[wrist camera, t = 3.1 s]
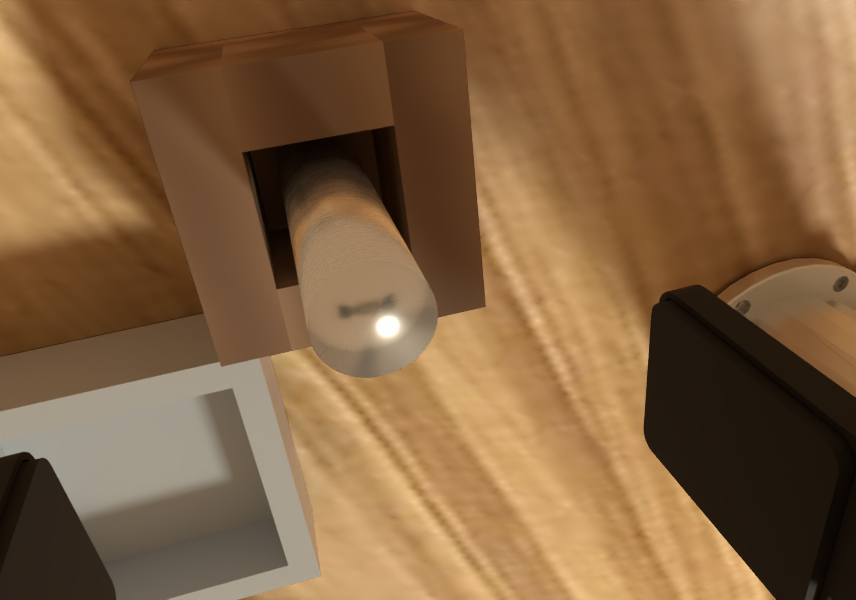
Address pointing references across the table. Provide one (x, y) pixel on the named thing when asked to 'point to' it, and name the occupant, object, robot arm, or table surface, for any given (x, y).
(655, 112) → the table surface
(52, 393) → the tray
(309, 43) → the socket block
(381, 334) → the steel pin
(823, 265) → the robot arm
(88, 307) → the table surface
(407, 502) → the table surface
